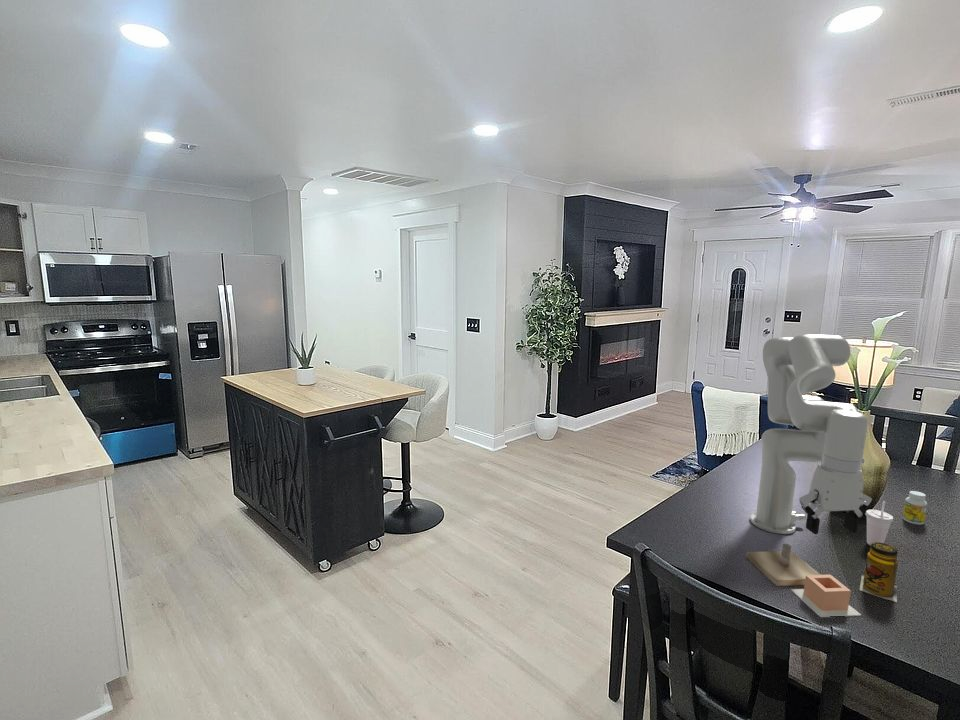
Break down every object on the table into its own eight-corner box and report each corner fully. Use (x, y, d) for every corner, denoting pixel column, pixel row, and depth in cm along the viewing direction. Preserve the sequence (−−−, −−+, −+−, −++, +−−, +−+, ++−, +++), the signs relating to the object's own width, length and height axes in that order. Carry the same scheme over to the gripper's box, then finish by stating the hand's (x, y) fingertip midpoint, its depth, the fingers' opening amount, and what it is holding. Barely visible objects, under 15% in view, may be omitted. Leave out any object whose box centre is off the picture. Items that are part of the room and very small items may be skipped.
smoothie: (881, 552, 143) (889, 507, 141) (856, 541, 149) (863, 498, 146) (892, 547, 146) (900, 502, 144) (868, 536, 152) (874, 494, 149)
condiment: (859, 590, 126) (866, 547, 124) (861, 575, 132) (868, 534, 130) (896, 603, 121) (904, 558, 119) (897, 586, 128) (904, 544, 125)
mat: (828, 589, 126) (828, 588, 126) (861, 615, 116) (861, 614, 116) (791, 590, 126) (791, 589, 126) (820, 617, 116) (820, 616, 116)
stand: (790, 555, 141) (793, 532, 140) (824, 584, 128) (828, 558, 127) (746, 557, 140) (749, 533, 139) (776, 585, 127) (779, 560, 126)
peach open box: (827, 592, 124) (830, 574, 124) (847, 609, 118) (850, 590, 117) (803, 593, 124) (805, 575, 123) (822, 610, 118) (825, 591, 117)
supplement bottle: (927, 523, 160) (932, 495, 159) (917, 526, 159) (922, 498, 157) (909, 515, 165) (913, 488, 164) (898, 518, 164) (902, 491, 162)
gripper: (862, 456, 120) (852, 521, 123) (794, 457, 119) (785, 523, 122) (889, 468, 113) (878, 537, 116) (817, 470, 111) (807, 540, 115)
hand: (830, 530), depth 119 cm, fingers open, 9 cm apart
